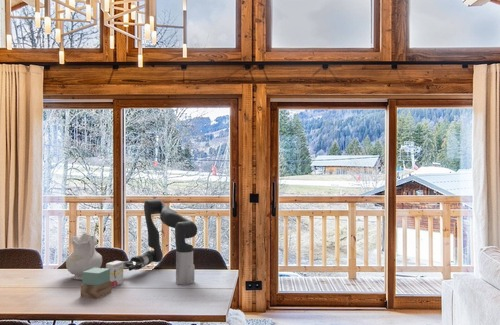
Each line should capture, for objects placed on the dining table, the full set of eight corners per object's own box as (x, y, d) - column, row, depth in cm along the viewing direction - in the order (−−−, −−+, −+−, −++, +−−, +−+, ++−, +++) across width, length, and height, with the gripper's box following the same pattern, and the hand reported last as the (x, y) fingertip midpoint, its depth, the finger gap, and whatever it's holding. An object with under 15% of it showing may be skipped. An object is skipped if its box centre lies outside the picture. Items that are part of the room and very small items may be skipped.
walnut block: (111, 292, 197) (111, 280, 197) (98, 298, 187) (98, 286, 187) (94, 290, 200) (94, 279, 200) (80, 296, 190) (80, 284, 190)
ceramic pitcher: (111, 278, 226) (114, 235, 228) (80, 284, 209) (84, 236, 211) (87, 273, 237) (91, 231, 239) (57, 278, 221) (61, 233, 223)
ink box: (112, 287, 205) (112, 264, 206) (105, 286, 207) (105, 263, 208) (123, 283, 213) (123, 261, 214) (116, 281, 215) (116, 260, 216)
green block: (109, 280, 197) (109, 268, 197) (98, 285, 188) (98, 273, 188) (94, 279, 199) (94, 267, 199) (82, 284, 190) (82, 271, 191)
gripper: (129, 254, 235) (111, 260, 220) (149, 256, 231) (133, 262, 215) (128, 267, 235) (111, 273, 219) (149, 269, 231) (133, 276, 215)
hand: (122, 268), depth 217 cm, fingers open, 8 cm apart
